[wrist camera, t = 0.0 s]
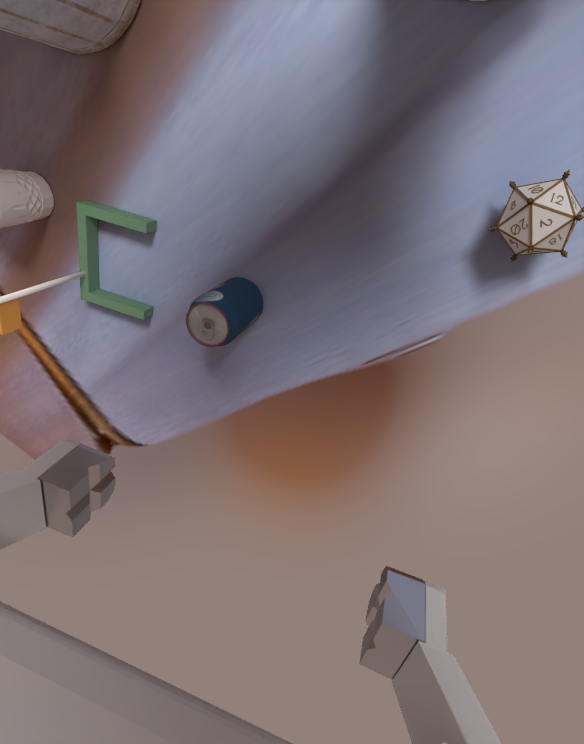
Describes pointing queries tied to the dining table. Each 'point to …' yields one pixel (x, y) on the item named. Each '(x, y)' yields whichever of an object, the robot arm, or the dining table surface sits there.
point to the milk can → (69, 22)
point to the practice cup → (86, 266)
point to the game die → (539, 217)
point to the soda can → (224, 312)
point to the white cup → (23, 197)
